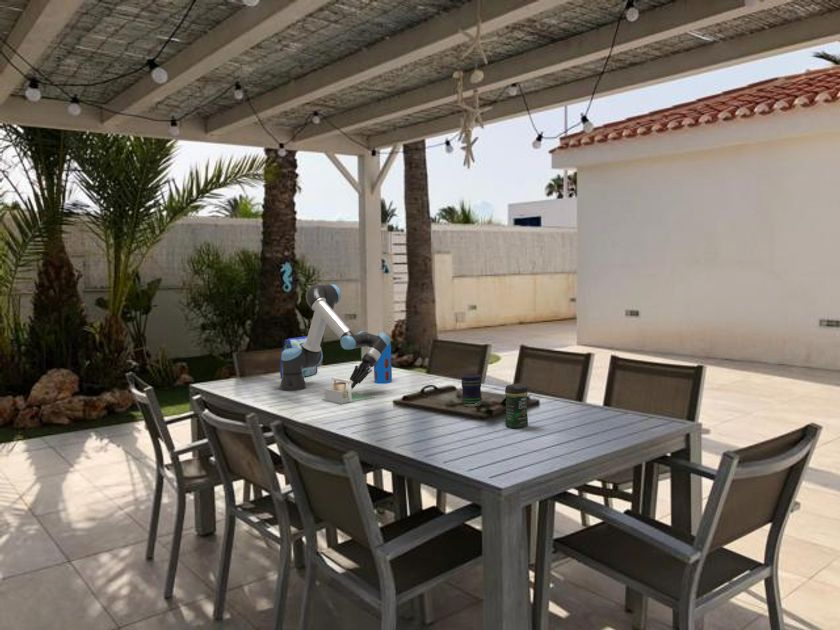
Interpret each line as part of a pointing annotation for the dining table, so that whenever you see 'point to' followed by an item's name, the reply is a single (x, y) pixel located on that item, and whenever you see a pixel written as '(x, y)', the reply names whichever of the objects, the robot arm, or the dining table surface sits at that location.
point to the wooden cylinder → (340, 388)
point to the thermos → (383, 367)
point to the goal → (338, 392)
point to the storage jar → (471, 388)
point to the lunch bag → (298, 344)
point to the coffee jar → (516, 405)
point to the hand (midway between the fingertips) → (347, 392)
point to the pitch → (355, 397)
